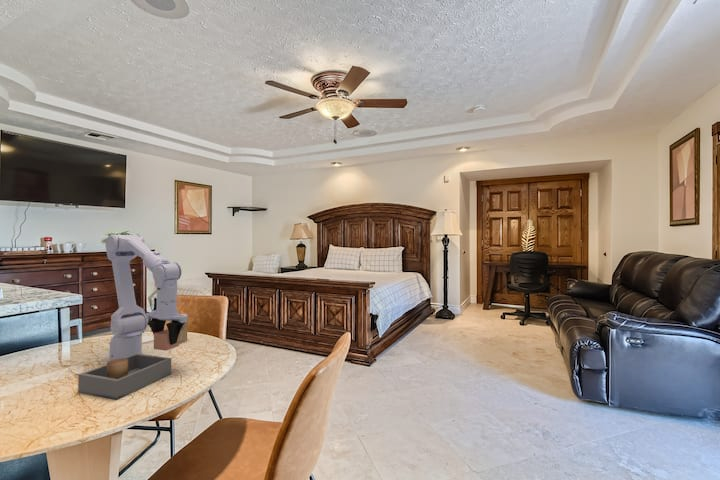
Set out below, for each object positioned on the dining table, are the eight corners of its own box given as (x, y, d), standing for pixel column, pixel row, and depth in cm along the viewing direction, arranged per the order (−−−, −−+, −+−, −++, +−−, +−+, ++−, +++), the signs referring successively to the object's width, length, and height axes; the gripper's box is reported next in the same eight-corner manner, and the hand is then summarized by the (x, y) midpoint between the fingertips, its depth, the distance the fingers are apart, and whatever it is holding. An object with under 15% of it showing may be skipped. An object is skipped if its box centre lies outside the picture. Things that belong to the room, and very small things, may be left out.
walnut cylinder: (103, 386, 98) (103, 361, 98) (122, 380, 103) (123, 356, 102) (111, 390, 96) (111, 365, 96) (131, 384, 100) (131, 360, 100)
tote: (78, 392, 96) (78, 374, 95) (136, 368, 113) (136, 353, 113) (116, 399, 92) (116, 381, 92) (171, 374, 109) (171, 358, 109)
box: (178, 344, 138) (179, 316, 138) (169, 343, 139) (169, 316, 139) (187, 340, 143) (188, 314, 143) (178, 339, 144) (179, 313, 144)
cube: (153, 349, 109) (153, 333, 109) (166, 344, 114) (166, 329, 114) (166, 350, 108) (166, 334, 108) (178, 345, 112) (179, 330, 112)
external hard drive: (157, 342, 142) (123, 350, 132) (147, 338, 147) (114, 346, 136) (157, 338, 142) (124, 346, 132) (147, 335, 147) (114, 342, 136)
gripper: (194, 300, 112) (194, 341, 113) (158, 297, 116) (158, 337, 116) (178, 304, 106) (177, 348, 106) (140, 300, 109) (139, 343, 110)
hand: (166, 342), depth 111 cm, fingers closed on cube, 5 cm apart
